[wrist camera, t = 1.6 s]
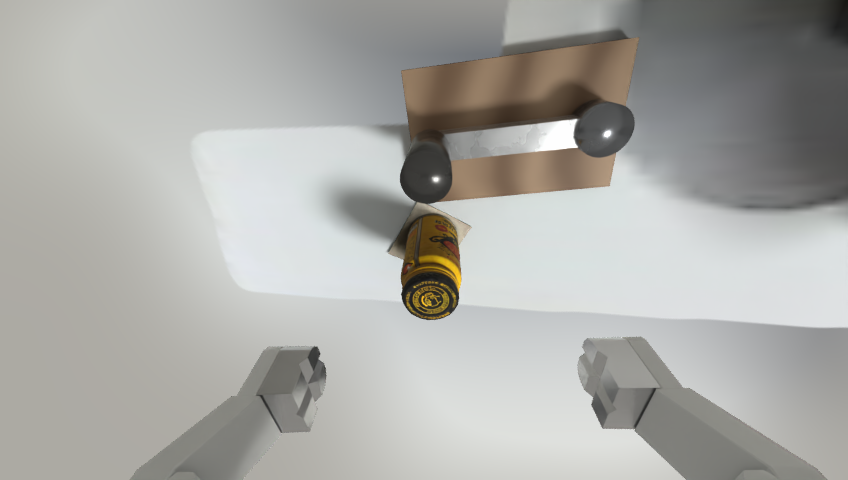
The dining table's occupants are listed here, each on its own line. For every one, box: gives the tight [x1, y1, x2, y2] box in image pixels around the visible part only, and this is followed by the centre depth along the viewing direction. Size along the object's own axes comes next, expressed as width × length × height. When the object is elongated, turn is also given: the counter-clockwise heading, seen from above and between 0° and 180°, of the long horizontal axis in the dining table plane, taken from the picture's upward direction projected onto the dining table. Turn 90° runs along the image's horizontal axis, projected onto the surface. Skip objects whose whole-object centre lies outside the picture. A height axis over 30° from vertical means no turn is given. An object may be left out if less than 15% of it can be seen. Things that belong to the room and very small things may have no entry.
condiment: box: [388, 202, 472, 320], centre depth 33 cm, size 7×8×12 cm
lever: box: [400, 99, 634, 204], centre depth 24 cm, size 19×4×10 cm, turn 97°
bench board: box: [401, 37, 639, 202], centre depth 30 cm, size 20×13×2 cm, turn 97°
